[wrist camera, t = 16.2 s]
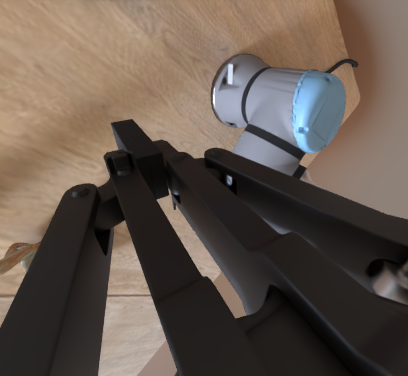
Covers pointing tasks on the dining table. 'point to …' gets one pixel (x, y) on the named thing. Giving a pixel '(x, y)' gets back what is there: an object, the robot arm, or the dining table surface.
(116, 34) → the dining table surface
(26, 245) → the oil lamp
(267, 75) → the robot arm
